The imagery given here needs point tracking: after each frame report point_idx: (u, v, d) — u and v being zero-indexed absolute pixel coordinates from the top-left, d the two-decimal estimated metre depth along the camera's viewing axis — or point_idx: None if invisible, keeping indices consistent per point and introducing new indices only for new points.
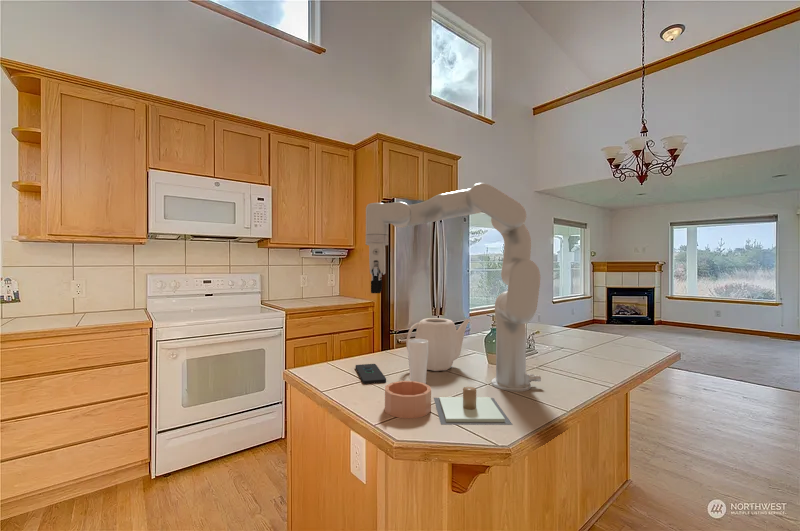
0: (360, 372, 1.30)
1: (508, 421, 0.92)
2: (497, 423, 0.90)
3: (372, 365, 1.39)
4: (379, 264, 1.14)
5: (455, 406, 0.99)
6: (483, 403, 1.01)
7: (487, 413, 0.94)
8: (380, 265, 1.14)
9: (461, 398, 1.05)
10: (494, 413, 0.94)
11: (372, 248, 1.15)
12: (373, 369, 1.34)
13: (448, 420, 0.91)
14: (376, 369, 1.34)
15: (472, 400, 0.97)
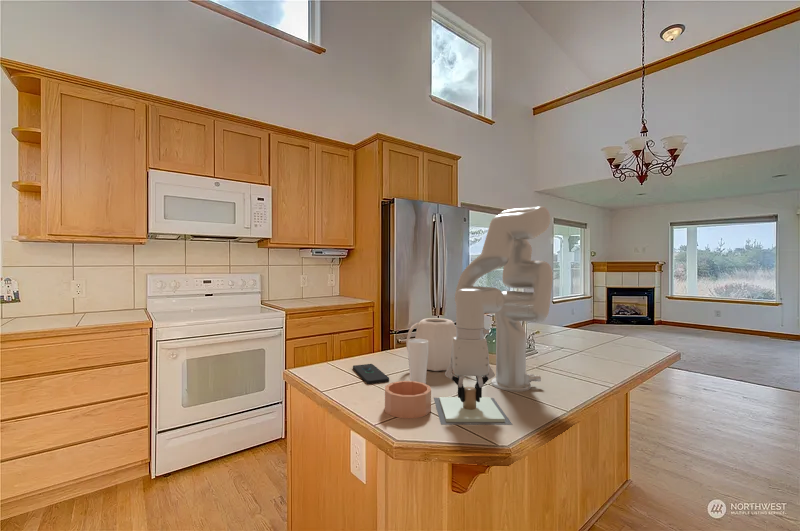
0: (360, 372, 1.30)
1: (508, 421, 0.92)
2: (497, 423, 0.90)
3: (370, 365, 1.39)
4: None
5: (455, 406, 0.99)
6: (483, 403, 1.01)
7: (487, 413, 0.94)
8: None
9: None
10: (494, 413, 0.94)
11: None
12: (372, 369, 1.34)
13: (448, 420, 0.91)
14: (375, 369, 1.34)
15: (472, 400, 0.97)
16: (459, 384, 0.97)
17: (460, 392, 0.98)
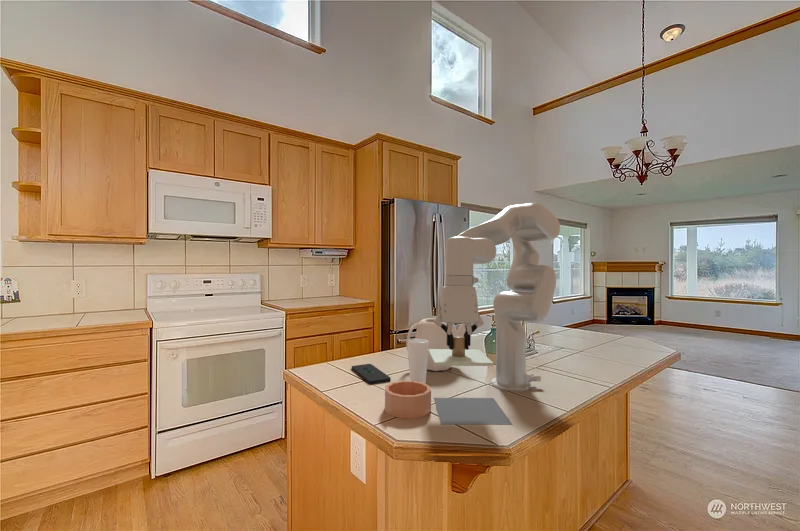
0: (361, 373, 1.30)
1: (508, 421, 0.92)
2: (497, 423, 0.90)
3: (368, 365, 1.39)
4: None
5: (444, 355, 0.99)
6: (472, 353, 1.01)
7: (476, 359, 0.94)
8: None
9: (450, 350, 1.05)
10: (483, 359, 0.94)
11: None
12: (372, 369, 1.34)
13: (437, 364, 0.91)
14: (375, 369, 1.34)
15: (461, 348, 0.97)
16: (448, 331, 0.97)
17: (449, 340, 0.98)
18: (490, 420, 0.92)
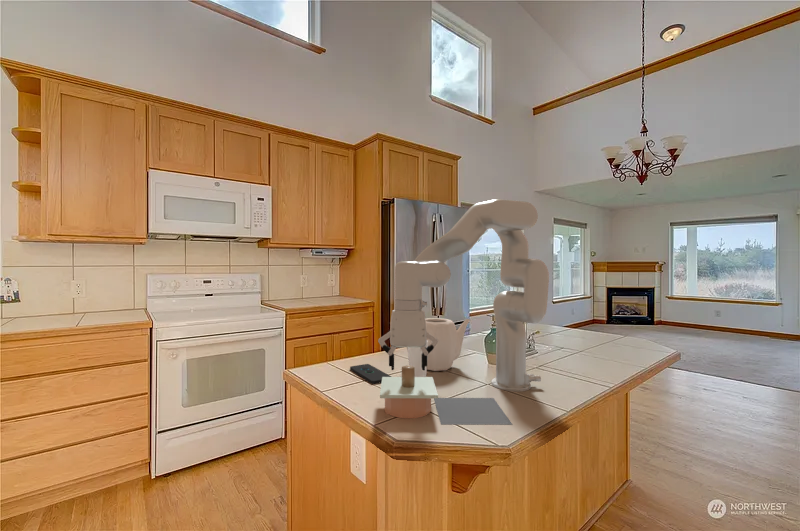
0: (361, 373, 1.29)
1: (508, 421, 0.92)
2: (497, 423, 0.90)
3: (367, 365, 1.39)
4: None
5: (394, 384, 1.00)
6: (423, 382, 1.02)
7: (423, 390, 0.95)
8: None
9: None
10: (430, 390, 0.95)
11: (424, 316, 0.98)
12: (371, 369, 1.34)
13: (382, 397, 0.92)
14: (374, 369, 1.34)
15: (410, 378, 0.98)
16: (389, 352, 0.98)
17: (390, 360, 0.99)
18: (490, 420, 0.92)
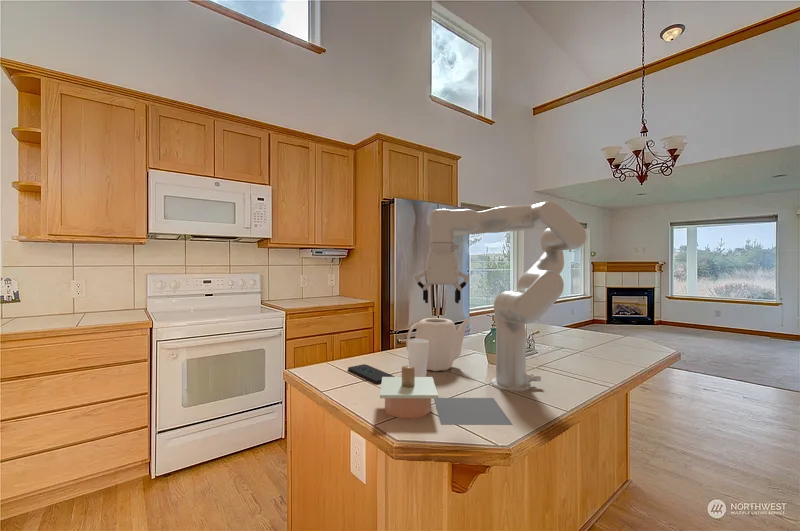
0: (362, 373, 1.29)
1: (508, 421, 0.92)
2: (497, 423, 0.90)
3: (365, 366, 1.39)
4: None
5: (394, 384, 1.00)
6: (423, 382, 1.02)
7: (423, 390, 0.95)
8: None
9: None
10: (430, 390, 0.95)
11: (456, 257, 1.12)
12: (371, 369, 1.34)
13: (382, 397, 0.92)
14: (374, 369, 1.34)
15: (410, 378, 0.98)
16: (424, 287, 1.12)
17: (424, 295, 1.13)
18: (490, 420, 0.92)
